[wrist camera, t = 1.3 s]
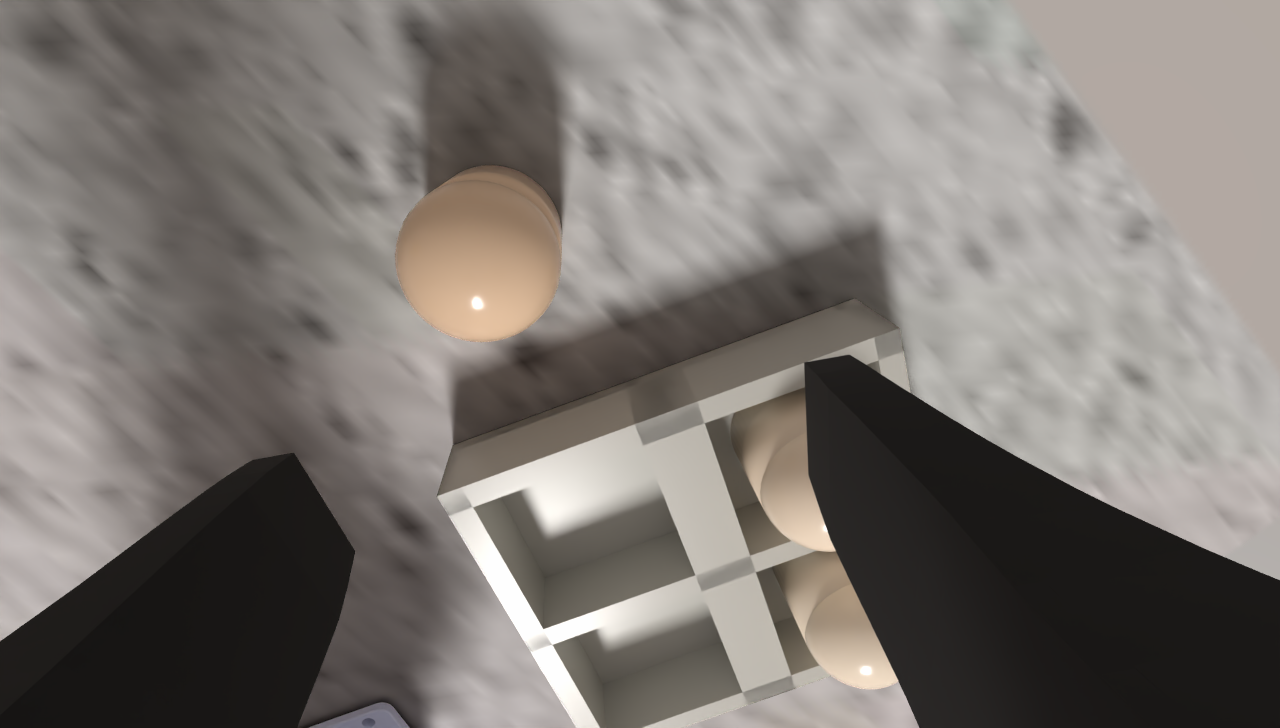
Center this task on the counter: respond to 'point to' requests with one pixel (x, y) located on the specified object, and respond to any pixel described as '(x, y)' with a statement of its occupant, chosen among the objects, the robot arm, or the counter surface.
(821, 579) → the pale egg
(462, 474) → the carton
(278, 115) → the counter surface
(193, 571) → the robot arm
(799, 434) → the pale egg
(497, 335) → the egg
